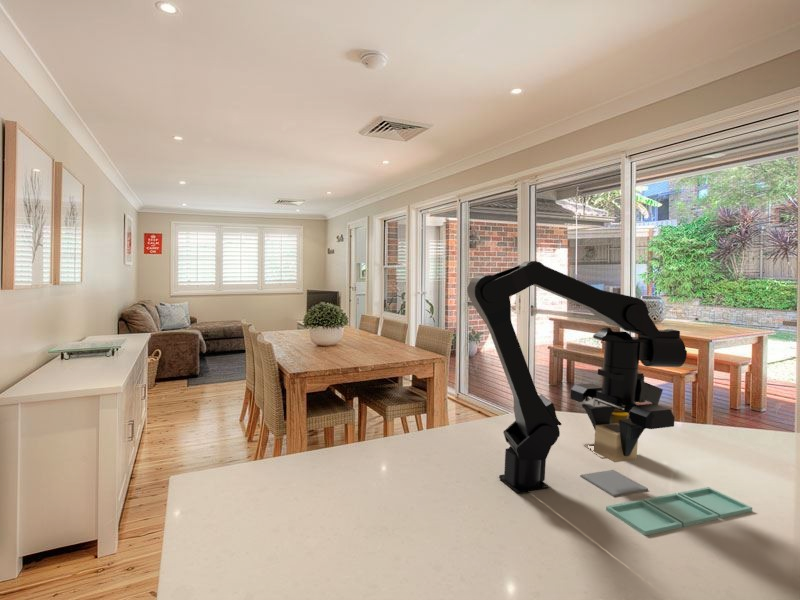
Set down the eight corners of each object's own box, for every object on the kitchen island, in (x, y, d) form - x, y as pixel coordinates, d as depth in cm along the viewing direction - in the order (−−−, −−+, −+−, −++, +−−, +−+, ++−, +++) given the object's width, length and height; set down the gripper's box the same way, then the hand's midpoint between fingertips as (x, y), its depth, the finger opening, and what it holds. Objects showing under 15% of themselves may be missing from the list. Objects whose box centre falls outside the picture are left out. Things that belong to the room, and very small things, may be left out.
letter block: (614, 462, 82) (616, 434, 81) (593, 451, 86) (595, 424, 86) (636, 459, 83) (638, 431, 83) (614, 448, 88) (616, 422, 88)
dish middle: (683, 528, 71) (684, 522, 71) (643, 504, 78) (643, 499, 78) (718, 520, 74) (718, 515, 74) (675, 498, 81) (675, 493, 81)
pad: (613, 498, 80) (613, 494, 80) (580, 477, 88) (580, 474, 88) (647, 491, 83) (648, 488, 83) (613, 472, 90) (613, 469, 90)
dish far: (720, 520, 74) (720, 514, 74) (677, 497, 81) (678, 492, 81) (751, 512, 77) (752, 507, 77) (708, 491, 84) (708, 486, 84)
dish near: (644, 537, 68) (645, 531, 68) (605, 511, 75) (606, 506, 75) (681, 528, 71) (682, 523, 71) (640, 504, 78) (641, 499, 78)
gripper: (701, 375, 78) (694, 466, 79) (614, 354, 95) (609, 429, 96) (652, 378, 74) (645, 474, 75) (571, 356, 91) (566, 433, 92)
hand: (614, 450), depth 85 cm, fingers closed on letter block, 5 cm apart
